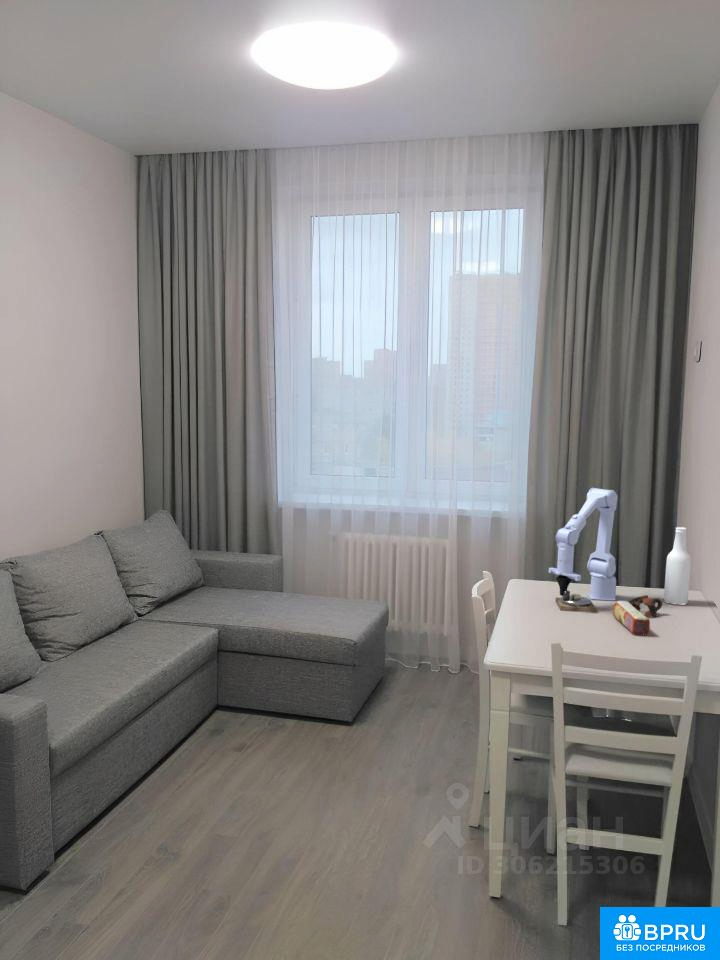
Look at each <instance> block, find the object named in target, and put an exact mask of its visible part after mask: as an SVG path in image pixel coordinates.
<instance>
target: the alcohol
mask: <svg viewBox="0 0 720 960" xmlns="http://www.w3.org/2000/svg"><path fill="white" fill-rule="evenodd" d="M672 547H673V548H672V550H671V551H670V552H668V554H667V556H666V563H665V564H666V565H665V577H664V589H663V590H664V591H663V592H664V593H663V601H664V602H665V601H666V602H669V603H676V604H682V603H687V604H688V603H689V601H688V600H689V589H690V579H691V577H690V576H691V566H692V565H691V563H692V560H691V559H692V558H691V556H690V554H689V552H688V550H687V528H686V527H682V526H677V527H675V535H674V541H673V546H672ZM666 602H665V603H666Z"/></svg>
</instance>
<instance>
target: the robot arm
mask: <svg viewBox="0 0 720 960" xmlns="http://www.w3.org/2000/svg"><path fill="white" fill-rule="evenodd" d="M617 505H618V494H617V492H616V491H615V490H614V489H606V488H605V489H604V488H603V489H602V488H597V487H596V488H595V487H591V488H590V489H589V490H588V492H587V494H586V501H585V502H584V503H583V505H582V507H581V509H580V510H579V512H578V513H576V514H573V515H572V516H571V518H570V519H568V522H567V523H566V524H565V525H564V527H562V528H559V529H558V530H557V532H556V535H555V541H556V546H557V563H556V564H557V565H556V566H557V567H548V573H549V574H553V575H556V577H555V580H556V582H557V585H558V587H559V596H560V597H562V596H563V591H564V590H568V588H569V585H570V583H571V582H572V581H573V580H574V581H576V582H581V580H582V575H580V574H577V573H576V572H574V571H573V570H574V553H575V545H576V544H577V543H578V542H579V537H580V534H581V532H582V530H583V528H585V526H586V525H587V519H588V518H589V516H590V515H591V514H592V513H593V512H594V511H595V510H596V509H597V510H598V511H599V522H598V528H597V529H598V530H597V538H596V539H597V540H596V547H595V551H594V552H592V553H590V554H589V558H588V561H587V563H586V564H587V565H586V567H587V570H588V572H589V575H590V576H591V577H590V591H589V593H587V596H588V597H589V599H590V600H596V601H597V600H598V601H601V600H602V601H615V602H616V593H617V578H616V576H614V575H615V573H616V570H617V566H616V558H615V556H613V554H612V553H611V552H610V550H611V543H612V535H613V527H614V518H615V511H616V510H617Z"/></svg>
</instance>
